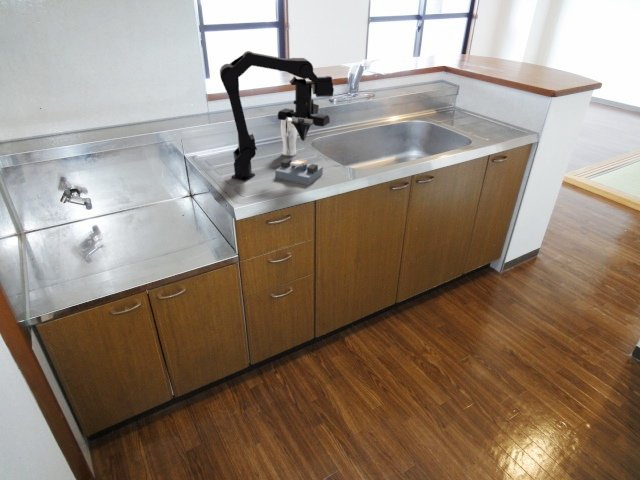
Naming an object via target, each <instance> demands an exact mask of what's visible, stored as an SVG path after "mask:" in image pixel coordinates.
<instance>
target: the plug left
mask: <svg viewBox="0 0 640 480" xmlns="http://www.w3.org/2000/svg"><path fill="white" fill-rule="evenodd" d="M291 162H292V159H289V158H285V159H283V160H281V161H280V167H284V168H287V167H289V166H290V163H291Z"/></svg>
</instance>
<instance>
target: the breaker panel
mask: <svg viewBox="0 0 640 480" xmlns="http://www.w3.org/2000/svg"><path fill="white" fill-rule="evenodd" d="M291 160H292V159H291ZM294 161H295V160H292V162H294ZM311 164H312V163H305V164H303V165H302V166H299V167H298V166H293V165H290V166H289V167H287V168H284V167H281V166H279V167H278V168H277V169H275V170H274V174H275V175H274V177H275V178H276V179H279V180H284V181H287V182H292V183H297V184H300V185H306V186H309V185H311V184H312V183H313V182H314V181H315V180H317V179H318V178H320V176H322V175H323V171H324V170H323V168H324V166H321V165H318V170H317V171H316V172H315V173H313V174H312V173H307V167H309V166H310V165H311Z"/></svg>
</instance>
